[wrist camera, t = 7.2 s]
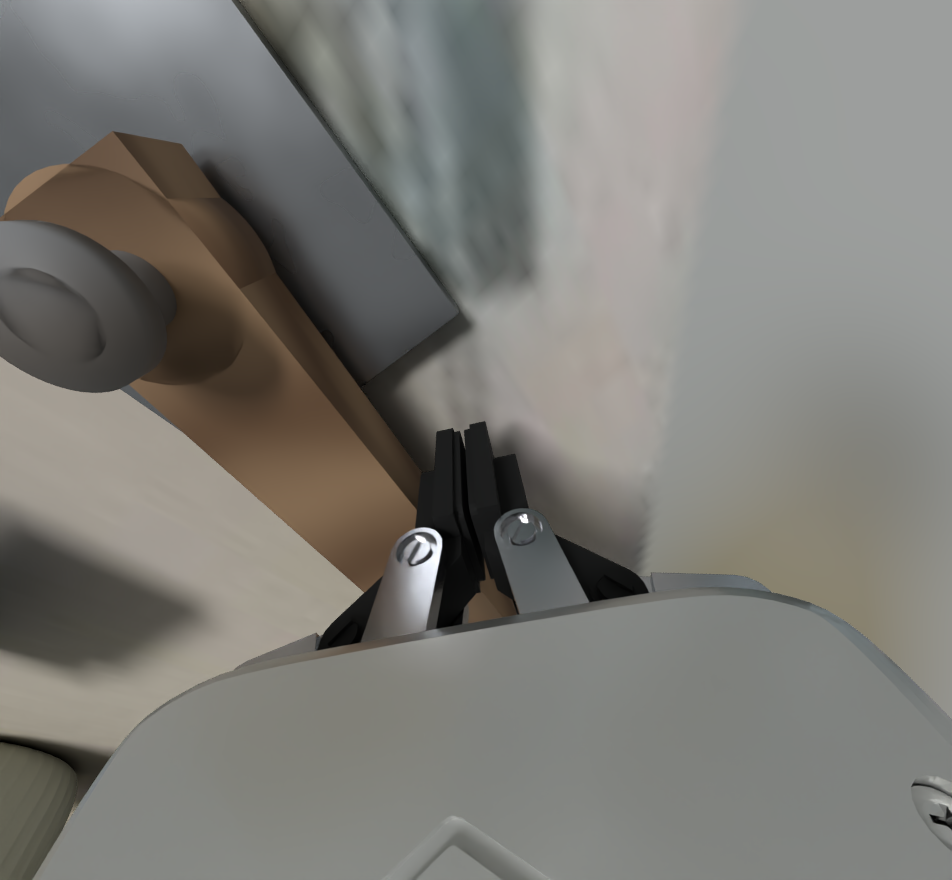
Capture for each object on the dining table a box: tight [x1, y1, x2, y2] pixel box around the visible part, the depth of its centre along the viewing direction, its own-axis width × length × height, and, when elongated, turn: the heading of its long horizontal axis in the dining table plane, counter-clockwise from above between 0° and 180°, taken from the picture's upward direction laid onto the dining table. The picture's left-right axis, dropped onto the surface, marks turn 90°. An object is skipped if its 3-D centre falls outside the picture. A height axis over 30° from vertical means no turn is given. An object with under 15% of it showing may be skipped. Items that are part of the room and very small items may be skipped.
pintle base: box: [0, 0, 459, 431], centre depth 10 cm, size 10×10×1 cm
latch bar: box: [0, 131, 516, 623], centre depth 13 cm, size 23×4×4 cm, turn 25°
